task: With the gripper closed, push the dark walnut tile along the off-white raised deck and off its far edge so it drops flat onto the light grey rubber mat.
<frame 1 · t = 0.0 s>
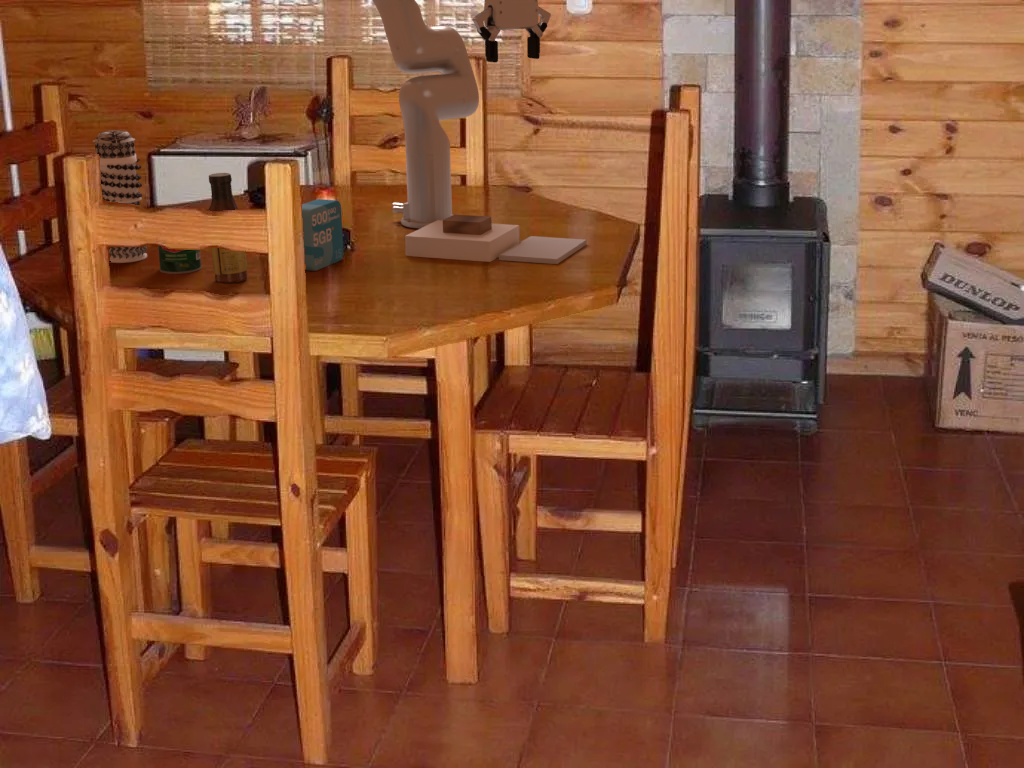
hand: (513, 60, 286), 37 cm above the table, tool pointing down, fingers open, 9 cm apart
data package: (318, 266, 288), on the table
tile: (467, 230, 296), point 4 cm above the table, touching deck
mat: (543, 252, 295), on the table
deck: (463, 250, 298), on the table
decorative candle: (126, 258, 296), on the table
canned tomato: (181, 270, 286), on the table
sauce bottle: (230, 281, 277), on the table
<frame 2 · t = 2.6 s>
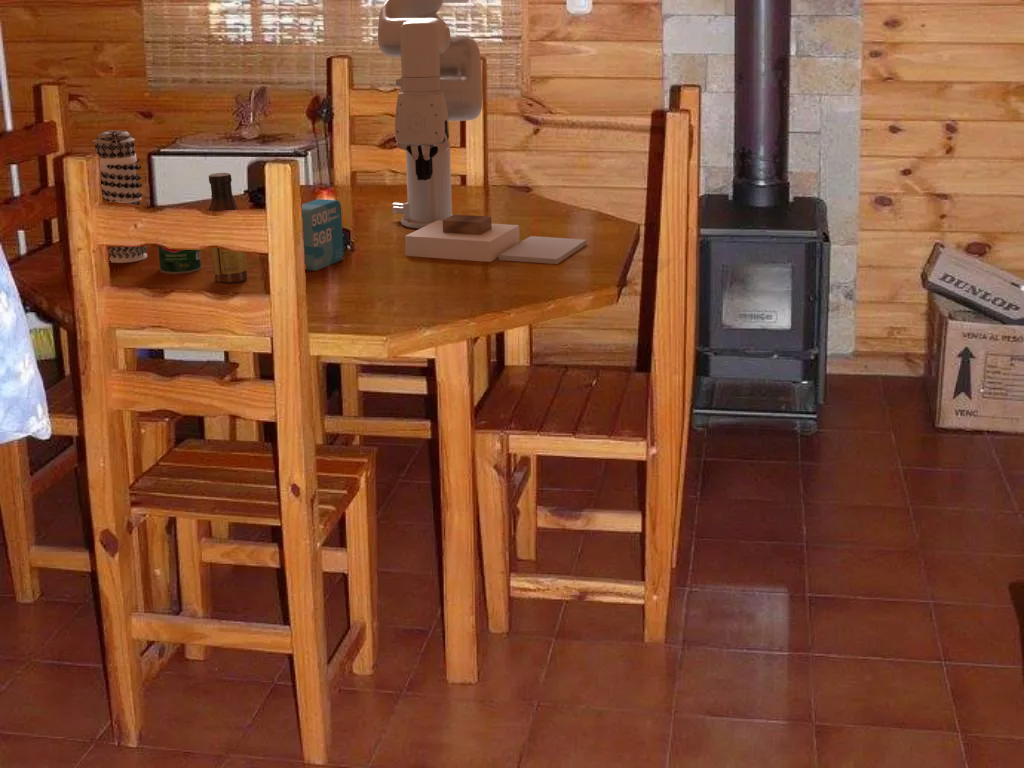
hand: (424, 179, 295), 14 cm above the table, tool pointing down, fingers closed
nothing on the table moved.
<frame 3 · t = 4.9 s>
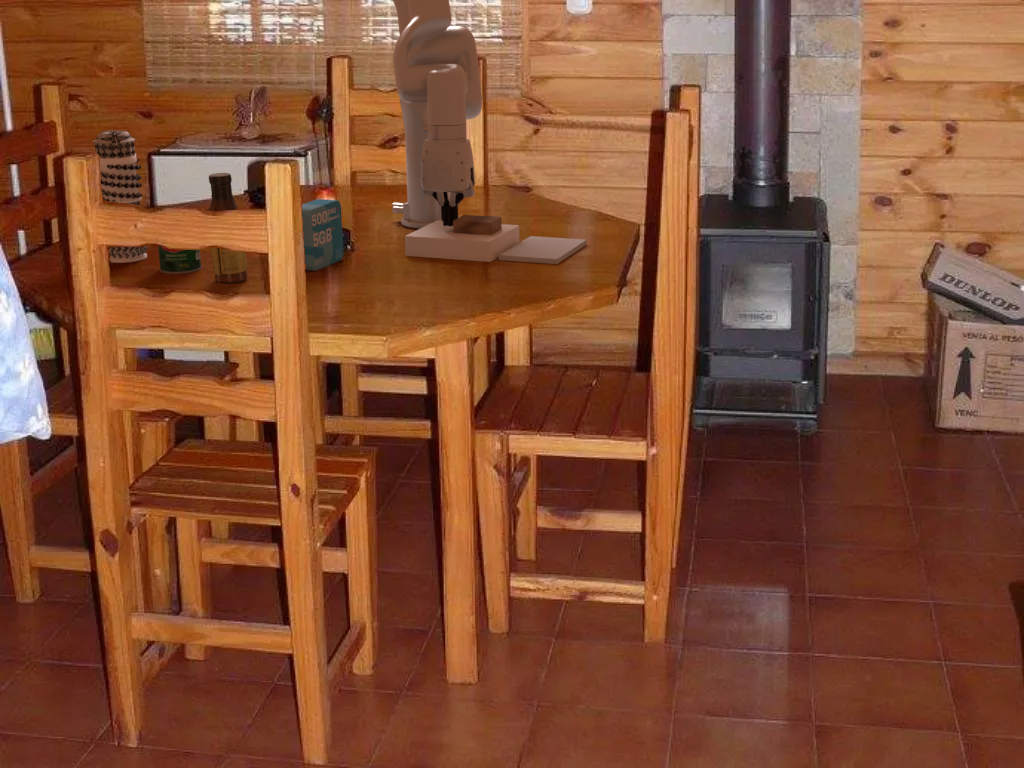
hand: (450, 224, 297), 5 cm above the table, tool pointing down, fingers closed
tile: (477, 231, 296), point 4 cm above the table, touching deck
everything else where it was.
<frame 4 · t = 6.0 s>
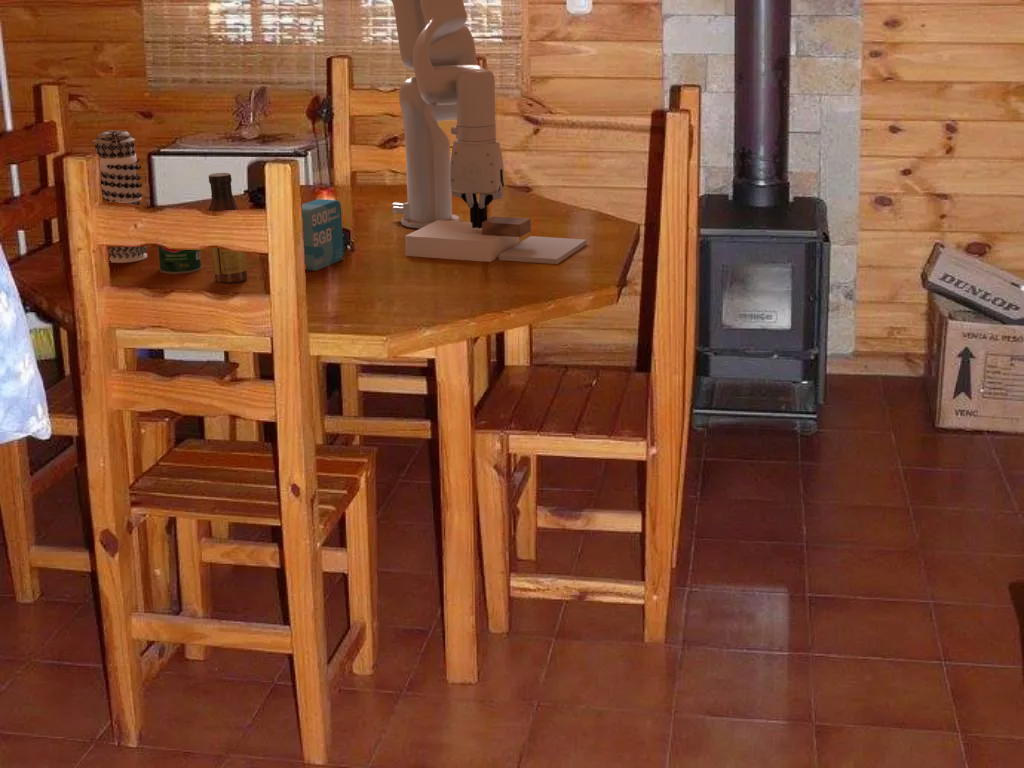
hand: (478, 226, 295), 5 cm above the table, tool pointing down, fingers closed
tile: (506, 232, 293), point 4 cm above the table, touching deck, gripper
everything else where it was.
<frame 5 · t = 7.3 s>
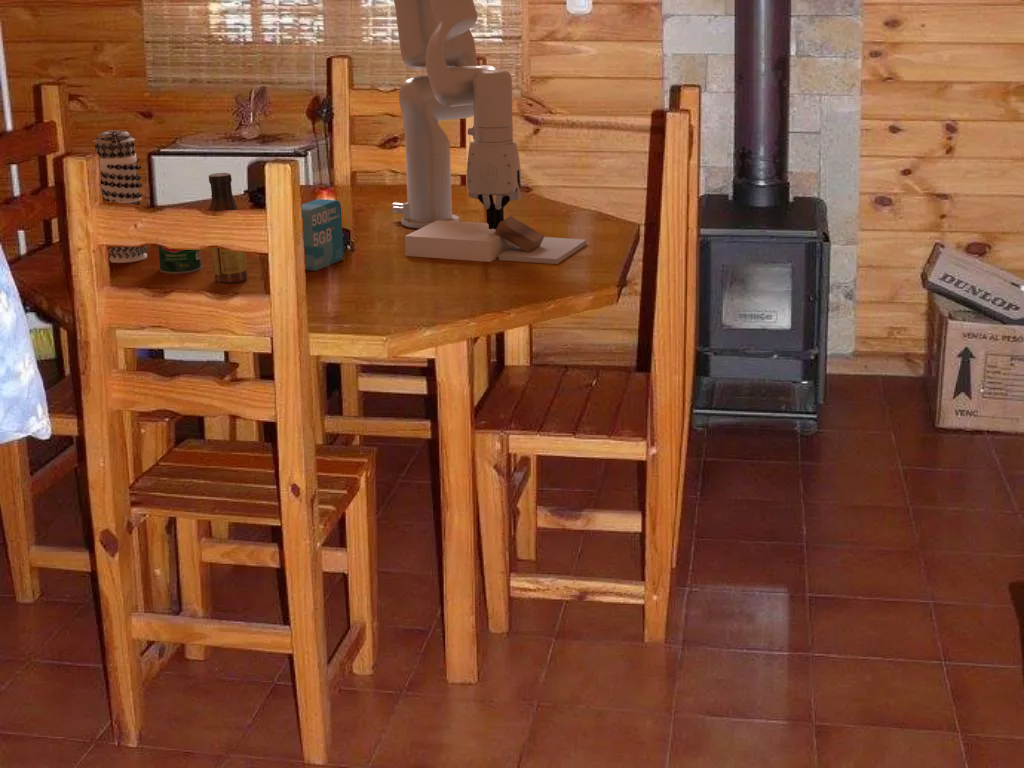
hand: (495, 227, 294), 5 cm above the table, tool pointing down, fingers closed
tile: (517, 239, 293), point 3 cm above the table, tilted 26°, touching gripper
everything else where it was.
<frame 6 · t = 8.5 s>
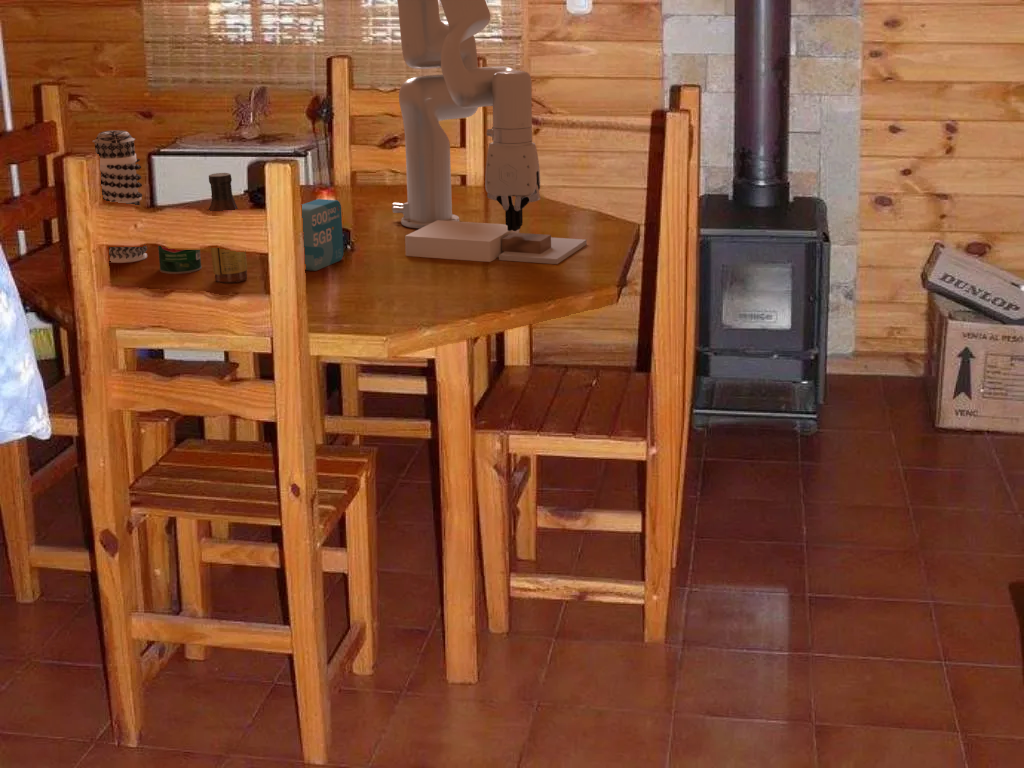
hand: (514, 229, 292), 5 cm above the table, tool pointing down, fingers closed
tile: (526, 249, 293), point 1 cm above the table, touching mat
everything else where it was.
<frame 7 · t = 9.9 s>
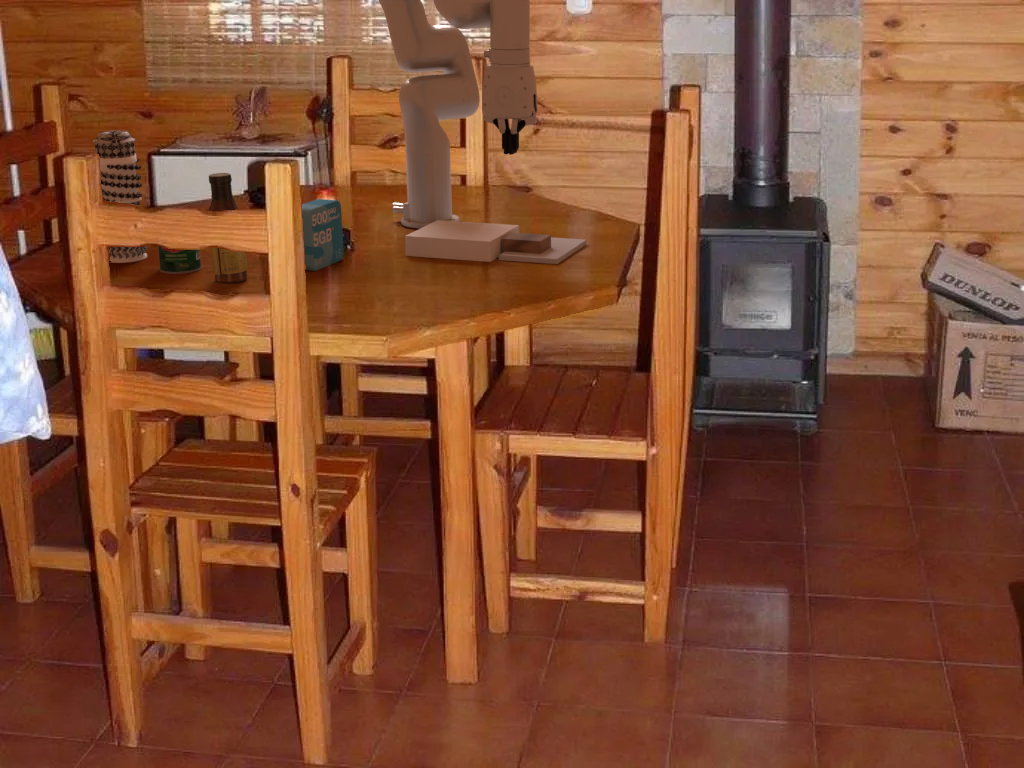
hand: (510, 153, 290), 20 cm above the table, tool pointing down, fingers closed
nothing on the table moved.
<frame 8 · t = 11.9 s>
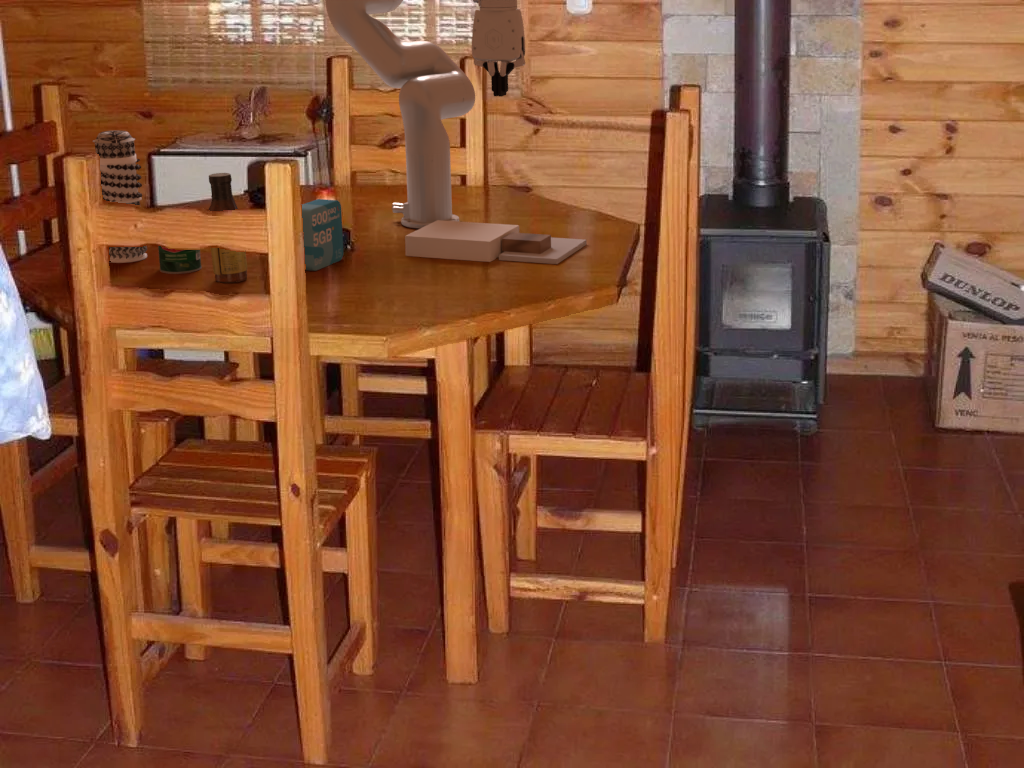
hand: (500, 95, 300), 29 cm above the table, tool pointing down, fingers closed
nothing on the table moved.
at the end: tile point 1.0 cm above the table; tile inside the target area on the mat (3.7 cm from its centre), point 1.0 cm above the mat's base; tile tilted 0° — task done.
